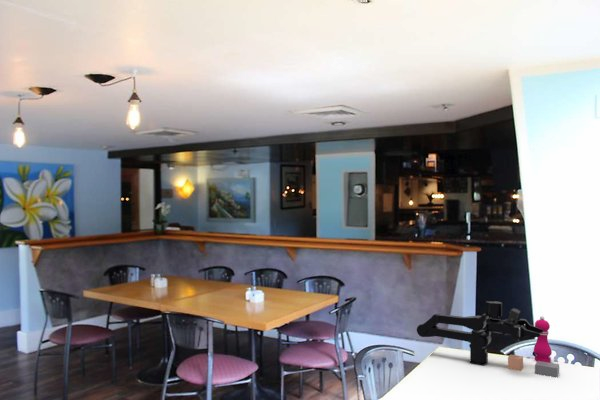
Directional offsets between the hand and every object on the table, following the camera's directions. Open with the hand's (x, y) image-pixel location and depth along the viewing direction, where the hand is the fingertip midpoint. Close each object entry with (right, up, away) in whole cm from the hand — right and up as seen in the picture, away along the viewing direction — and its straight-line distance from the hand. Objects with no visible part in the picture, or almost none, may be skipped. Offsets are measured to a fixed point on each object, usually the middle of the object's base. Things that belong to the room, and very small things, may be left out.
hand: (541, 333), depth 195 cm
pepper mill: (+9, -18, +17) cm, 26 cm away
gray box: (+2, -17, -1) cm, 17 cm away
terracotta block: (-8, -17, +6) cm, 20 cm away
